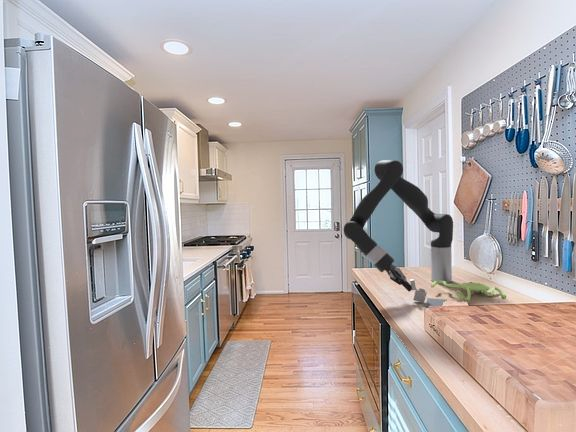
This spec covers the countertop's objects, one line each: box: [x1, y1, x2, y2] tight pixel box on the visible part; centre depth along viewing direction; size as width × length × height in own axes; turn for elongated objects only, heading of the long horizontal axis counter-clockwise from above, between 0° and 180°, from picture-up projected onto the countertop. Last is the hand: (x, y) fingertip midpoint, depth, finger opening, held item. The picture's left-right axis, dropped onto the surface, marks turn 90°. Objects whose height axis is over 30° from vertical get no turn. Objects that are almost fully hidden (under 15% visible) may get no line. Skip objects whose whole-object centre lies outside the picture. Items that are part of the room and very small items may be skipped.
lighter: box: [409, 278, 428, 304], centre depth 133 cm, size 7×2×8 cm, turn 65°
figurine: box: [430, 281, 507, 302], centre depth 142 cm, size 18×27×6 cm
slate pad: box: [425, 297, 448, 308], centre depth 129 cm, size 11×15×1 cm
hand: (411, 289), depth 135 cm, fingers closed
